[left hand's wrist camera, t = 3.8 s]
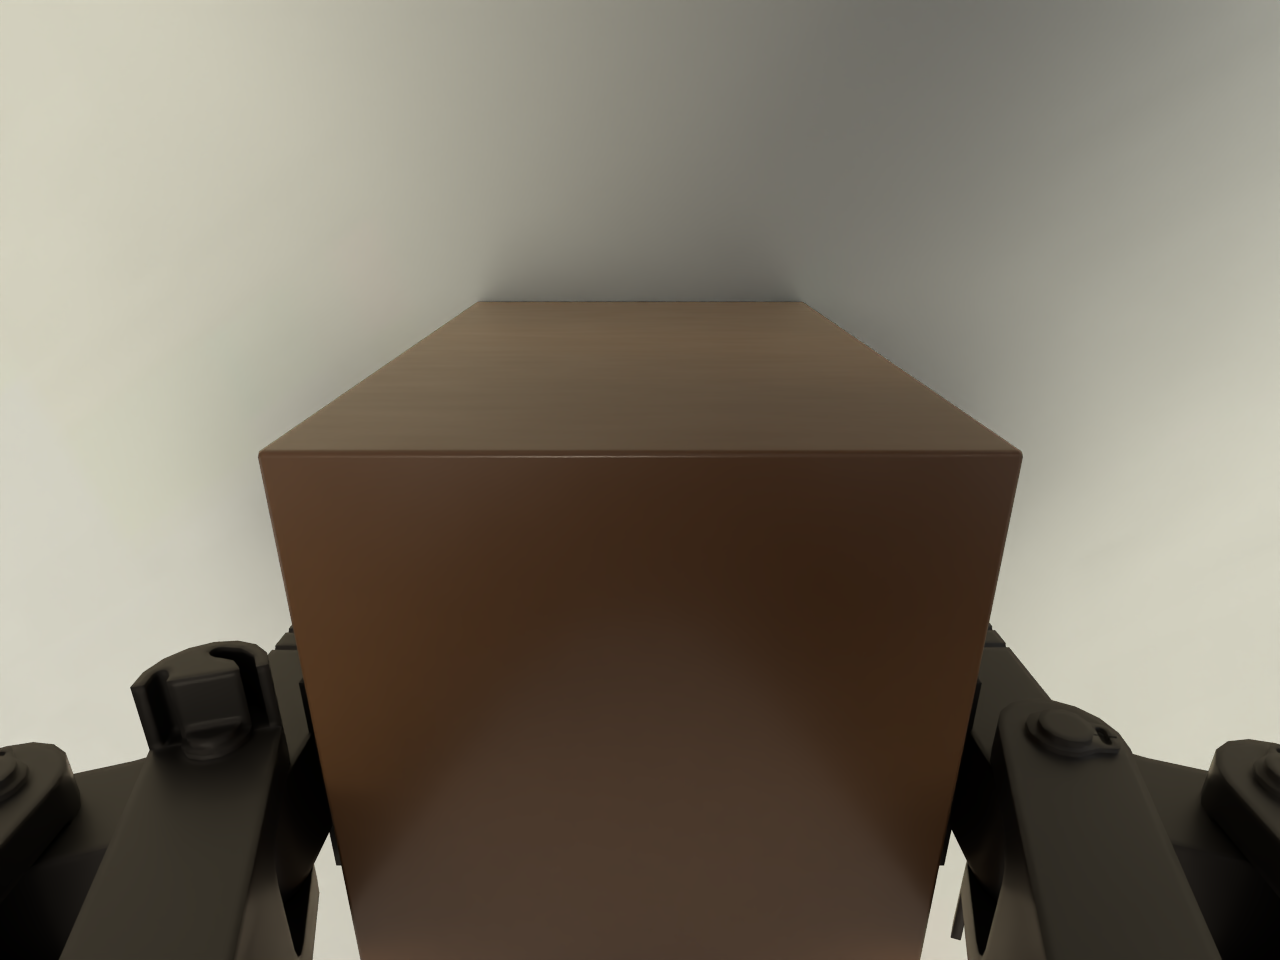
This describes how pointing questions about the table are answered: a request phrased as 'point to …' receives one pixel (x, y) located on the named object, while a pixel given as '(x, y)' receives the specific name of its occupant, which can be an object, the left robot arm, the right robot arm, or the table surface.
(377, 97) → the table surface
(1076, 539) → the table surface
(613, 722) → the post
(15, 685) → the table surface
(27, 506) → the table surface
